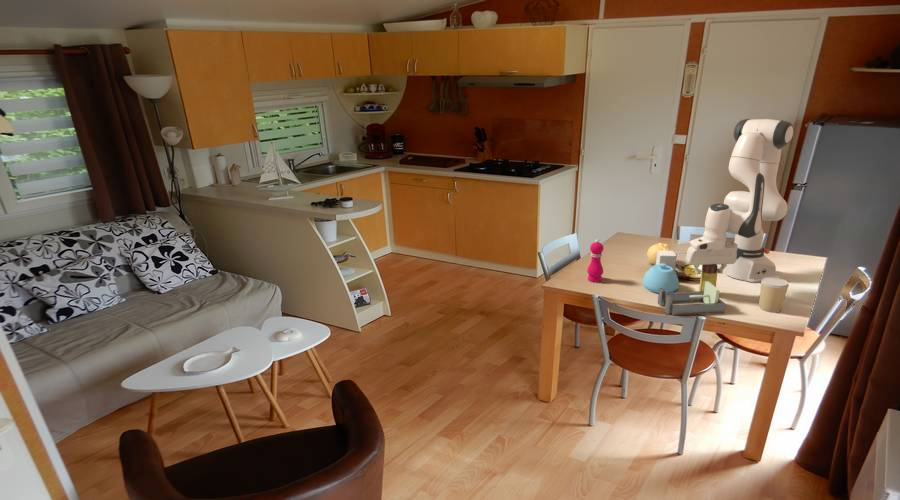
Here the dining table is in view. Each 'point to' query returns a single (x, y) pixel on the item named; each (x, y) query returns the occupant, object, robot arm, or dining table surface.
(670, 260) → the supplement box
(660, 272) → the blue upside-down bowl
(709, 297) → the pusher
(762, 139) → the robot arm
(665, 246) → the sculpture
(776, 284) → the coffee cup
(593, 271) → the pepper mill
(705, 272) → the sauce bottle
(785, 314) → the dining table surface
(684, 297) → the gray storage tray
